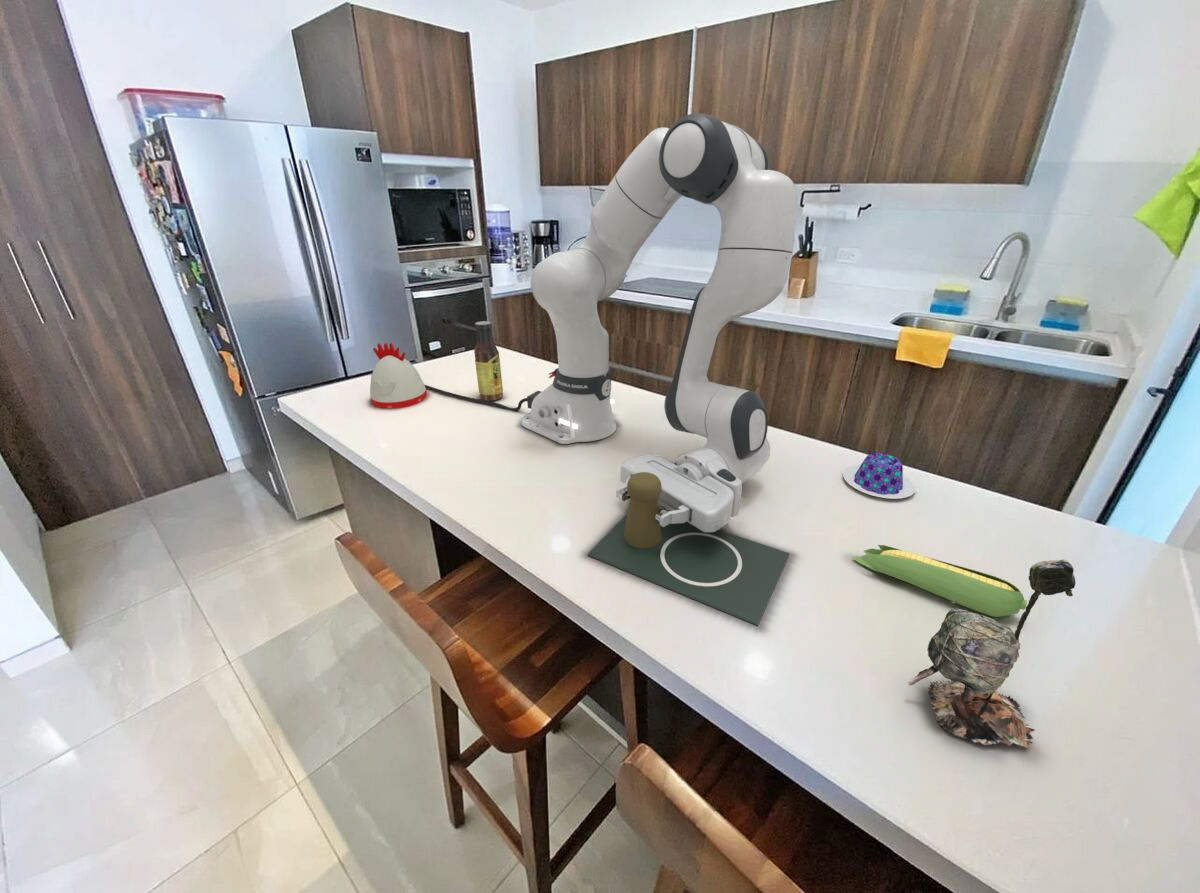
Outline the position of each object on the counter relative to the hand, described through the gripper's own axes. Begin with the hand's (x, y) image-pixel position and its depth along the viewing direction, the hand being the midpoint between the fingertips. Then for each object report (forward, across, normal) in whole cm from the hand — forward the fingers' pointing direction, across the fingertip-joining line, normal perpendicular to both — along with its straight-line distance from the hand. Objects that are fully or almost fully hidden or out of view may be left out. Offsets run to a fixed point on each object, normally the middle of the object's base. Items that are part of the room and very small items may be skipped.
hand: (638, 507), depth 76 cm
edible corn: (-24, +34, +6) cm, 42 cm away
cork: (-1, 0, +6) cm, 6 cm away
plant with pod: (-7, +43, +6) cm, 44 cm away
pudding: (-46, +17, +6) cm, 49 cm away
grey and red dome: (+7, -85, +6) cm, 85 cm away
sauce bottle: (-12, -69, +6) cm, 70 cm away
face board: (-3, +8, +6) cm, 10 cm away
